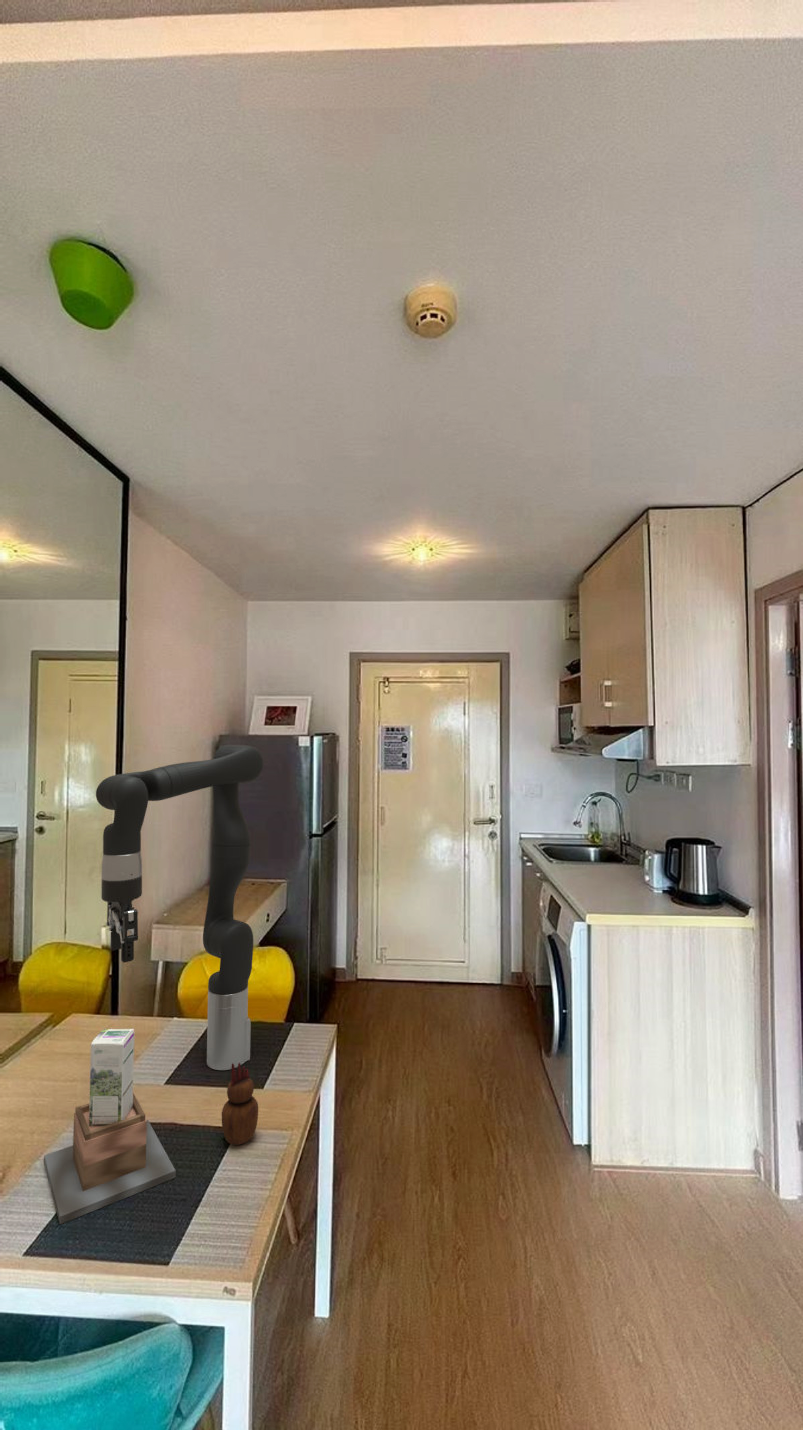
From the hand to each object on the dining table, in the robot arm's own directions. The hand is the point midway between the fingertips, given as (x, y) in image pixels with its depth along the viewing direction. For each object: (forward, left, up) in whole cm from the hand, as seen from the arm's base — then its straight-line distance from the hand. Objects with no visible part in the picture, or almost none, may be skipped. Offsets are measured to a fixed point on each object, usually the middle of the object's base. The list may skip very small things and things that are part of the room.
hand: (121, 955), depth 126 cm
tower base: (+5, +14, -33) cm, 36 cm away
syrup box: (+4, +14, -24) cm, 28 cm away
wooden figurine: (-18, +19, -33) cm, 42 cm away
